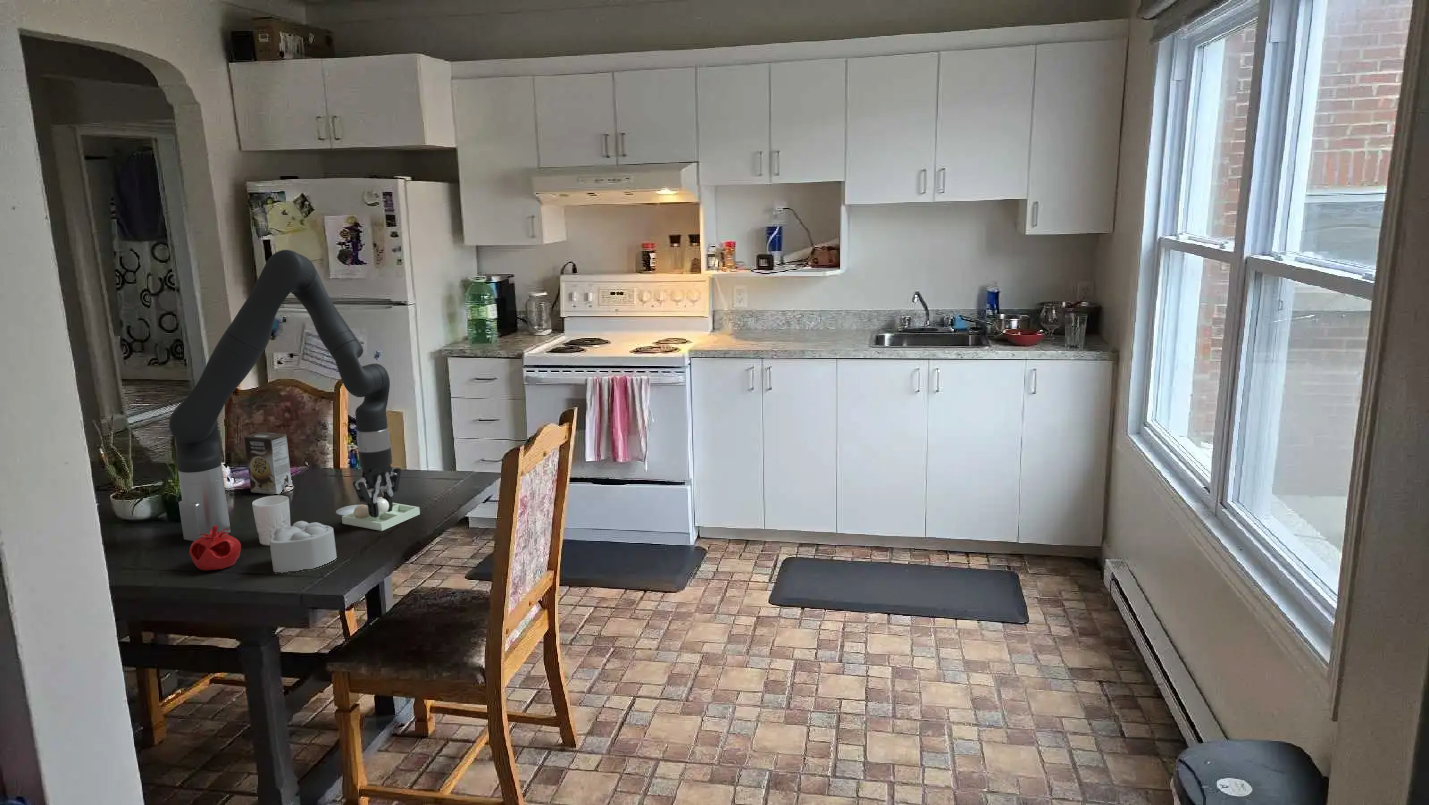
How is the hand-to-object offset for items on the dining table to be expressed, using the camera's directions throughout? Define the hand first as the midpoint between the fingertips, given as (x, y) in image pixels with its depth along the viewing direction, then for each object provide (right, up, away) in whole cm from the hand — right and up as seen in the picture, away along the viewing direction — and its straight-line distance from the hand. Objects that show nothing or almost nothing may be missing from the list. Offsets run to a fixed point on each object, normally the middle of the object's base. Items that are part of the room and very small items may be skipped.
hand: (381, 513), depth 228 cm
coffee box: (-42, +3, +31) cm, 52 cm away
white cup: (-23, -6, -7) cm, 25 cm away
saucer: (-11, -1, +11) cm, 16 cm away
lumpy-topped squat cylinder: (-9, -9, -21) cm, 24 cm away
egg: (0, 0, 0) cm, 0 cm away
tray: (-1, -3, +5) cm, 6 cm away
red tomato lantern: (-29, -9, -22) cm, 37 cm away
